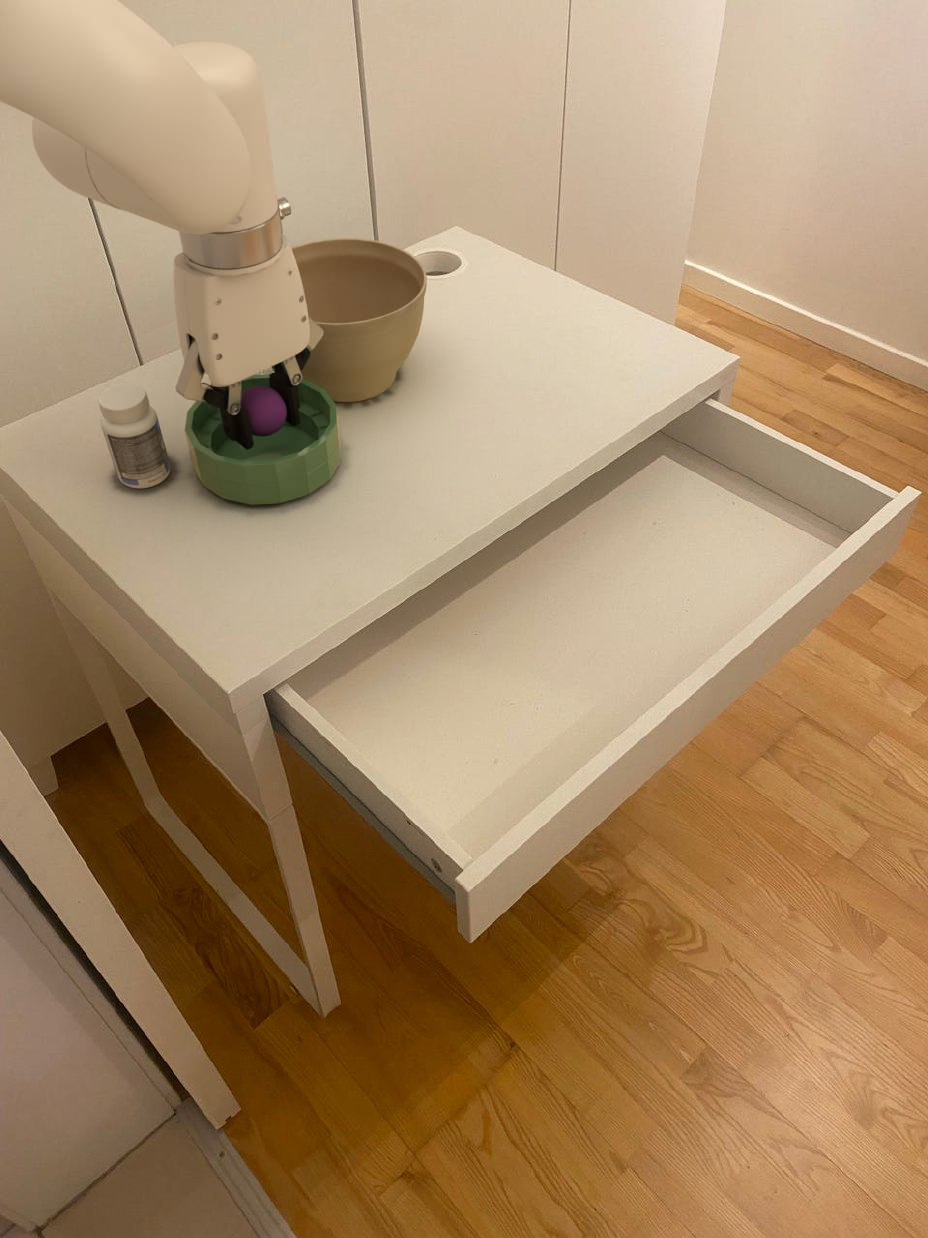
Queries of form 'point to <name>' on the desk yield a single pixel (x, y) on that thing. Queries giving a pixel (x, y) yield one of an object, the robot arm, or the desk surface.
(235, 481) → the bowl
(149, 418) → the pill bottle
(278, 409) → the ball
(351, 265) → the planter bowl
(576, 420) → the desk surface
